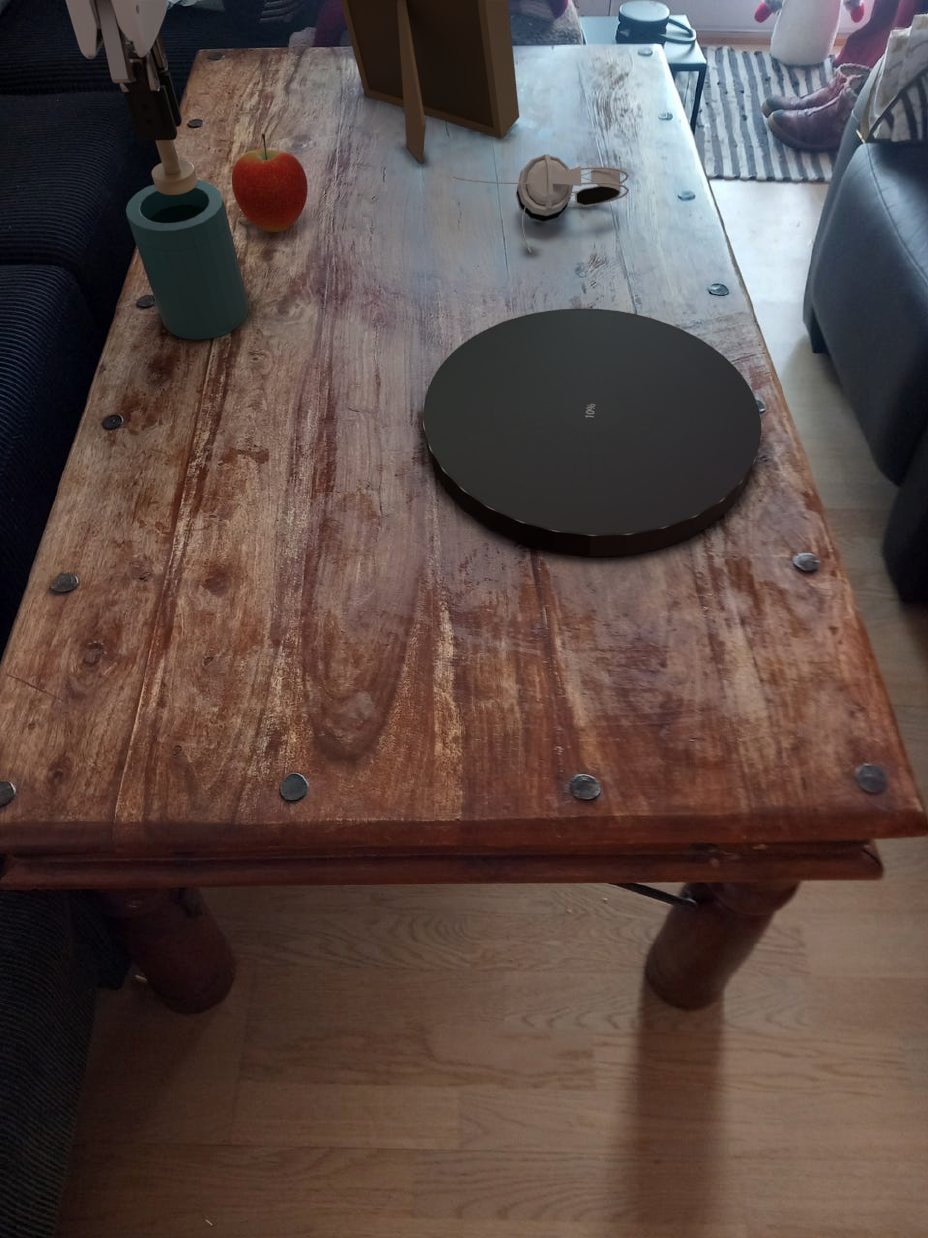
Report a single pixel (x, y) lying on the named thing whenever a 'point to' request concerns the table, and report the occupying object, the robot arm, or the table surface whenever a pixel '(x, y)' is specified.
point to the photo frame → (437, 62)
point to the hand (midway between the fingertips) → (160, 130)
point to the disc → (591, 431)
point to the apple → (270, 188)
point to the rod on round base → (172, 169)
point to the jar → (189, 260)
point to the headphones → (561, 188)
